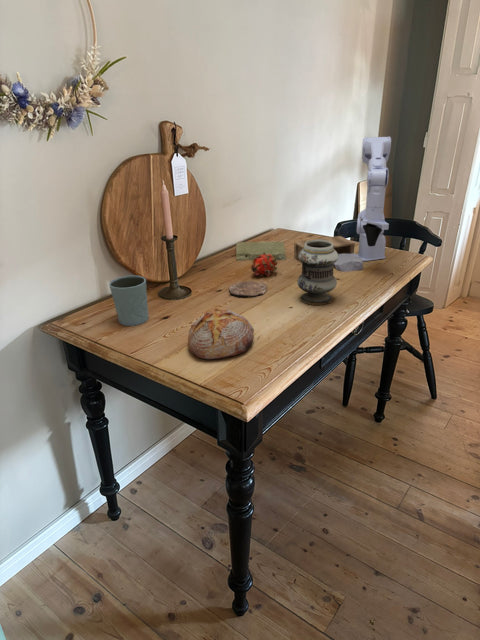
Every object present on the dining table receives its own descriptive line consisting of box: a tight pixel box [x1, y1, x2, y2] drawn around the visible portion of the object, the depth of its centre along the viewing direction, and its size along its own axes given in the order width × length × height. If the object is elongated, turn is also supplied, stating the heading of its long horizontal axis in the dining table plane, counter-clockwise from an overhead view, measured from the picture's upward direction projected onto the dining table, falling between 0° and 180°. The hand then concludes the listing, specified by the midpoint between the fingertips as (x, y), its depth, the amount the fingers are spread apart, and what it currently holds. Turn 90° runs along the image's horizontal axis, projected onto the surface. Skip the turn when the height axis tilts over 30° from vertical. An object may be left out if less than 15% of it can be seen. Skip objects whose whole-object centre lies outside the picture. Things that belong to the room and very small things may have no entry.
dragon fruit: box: [250, 253, 278, 277], centre depth 168 cm, size 8×8×12 cm
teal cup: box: [108, 275, 149, 327], centre depth 136 cm, size 10×10×12 cm
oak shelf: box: [293, 235, 356, 264], centre depth 182 cm, size 20×12×6 cm, turn 109°
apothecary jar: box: [296, 239, 339, 306], centre depth 144 cm, size 12×12×18 cm
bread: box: [187, 308, 255, 360], centre depth 121 cm, size 16×20×10 cm
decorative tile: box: [235, 241, 287, 262], centre depth 191 cm, size 19×20×4 cm
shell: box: [228, 280, 268, 299], centre depth 155 cm, size 12×13×4 cm
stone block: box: [334, 252, 364, 273], centre depth 175 cm, size 12×5×10 cm
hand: (371, 245), depth 163 cm, fingers closed
